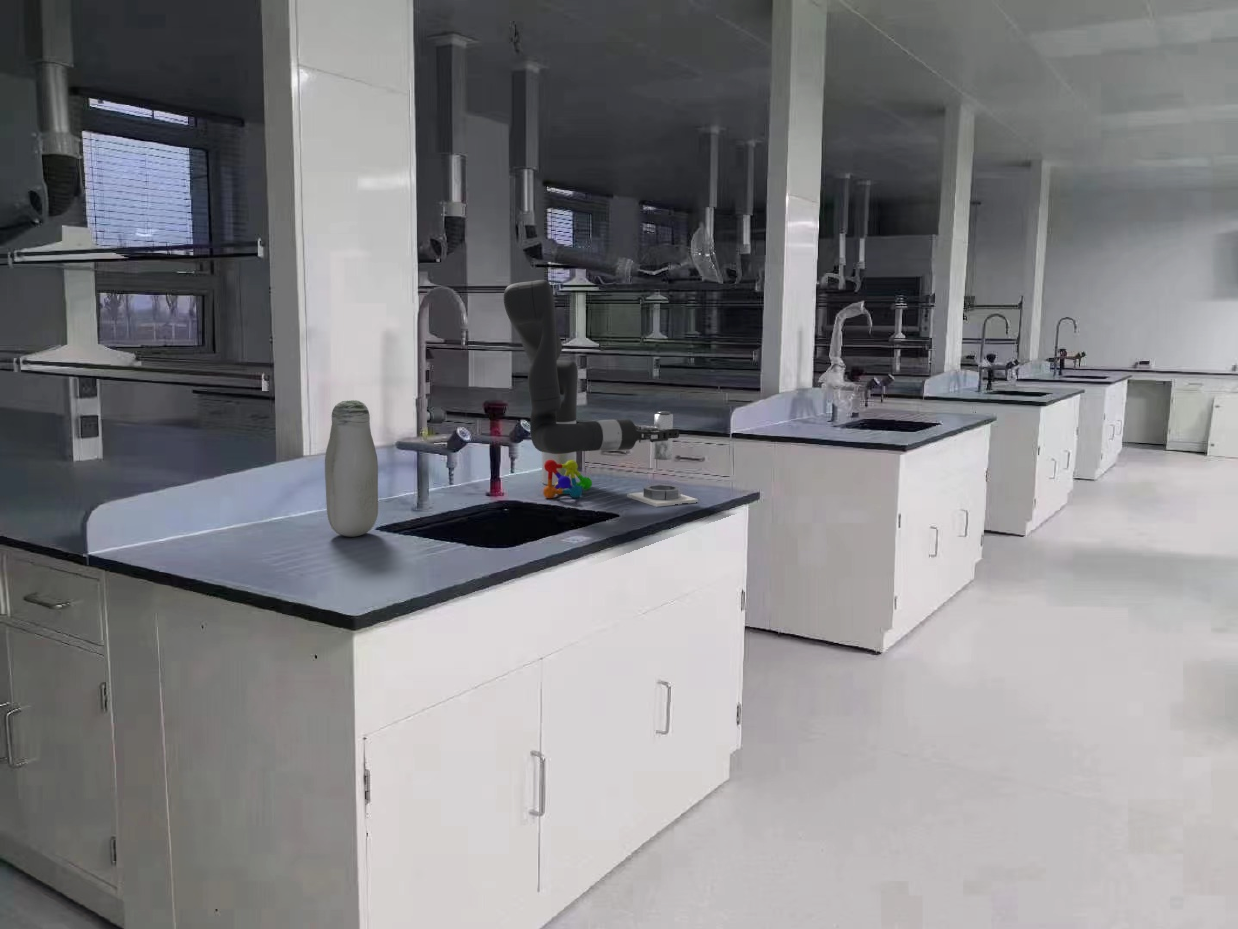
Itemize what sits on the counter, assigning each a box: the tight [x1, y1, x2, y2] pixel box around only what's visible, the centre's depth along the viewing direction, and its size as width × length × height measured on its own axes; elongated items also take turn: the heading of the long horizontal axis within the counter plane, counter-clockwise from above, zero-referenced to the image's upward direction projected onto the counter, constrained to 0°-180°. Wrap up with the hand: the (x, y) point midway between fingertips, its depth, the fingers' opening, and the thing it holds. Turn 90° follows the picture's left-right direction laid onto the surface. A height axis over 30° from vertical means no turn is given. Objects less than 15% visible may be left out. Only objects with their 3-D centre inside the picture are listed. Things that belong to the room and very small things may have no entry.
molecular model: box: [542, 460, 593, 499], centre depth 245 cm, size 11×10×15 cm
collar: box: [643, 483, 682, 500], centre depth 243 cm, size 9×9×2 cm
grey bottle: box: [324, 399, 379, 538], centre depth 199 cm, size 10×10×28 cm
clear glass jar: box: [652, 410, 674, 461], centre depth 240 cm, size 5×5×12 cm
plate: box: [626, 491, 699, 508], centre depth 243 cm, size 14×12×1 cm
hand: (672, 432), depth 241 cm, fingers closed on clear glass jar, 4 cm apart
